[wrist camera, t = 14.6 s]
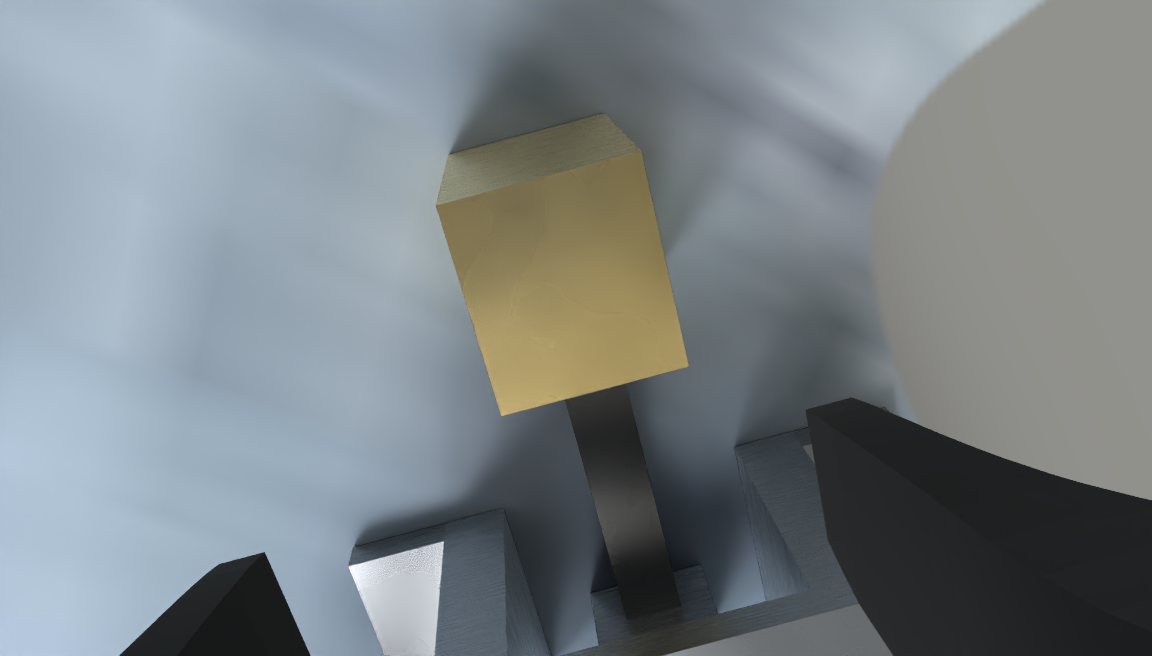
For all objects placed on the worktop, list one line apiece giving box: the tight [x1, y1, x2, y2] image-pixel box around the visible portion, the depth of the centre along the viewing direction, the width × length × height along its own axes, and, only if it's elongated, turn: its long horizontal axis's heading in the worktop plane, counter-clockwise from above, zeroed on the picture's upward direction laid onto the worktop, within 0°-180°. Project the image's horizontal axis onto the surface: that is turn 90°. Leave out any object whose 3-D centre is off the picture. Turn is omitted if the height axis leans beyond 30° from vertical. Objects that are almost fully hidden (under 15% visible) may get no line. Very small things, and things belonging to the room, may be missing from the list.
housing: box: [348, 407, 893, 656], centre depth 21 cm, size 5×14×6 cm, turn 104°
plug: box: [436, 113, 718, 645], centre depth 20 cm, size 14×4×5 cm, turn 14°
